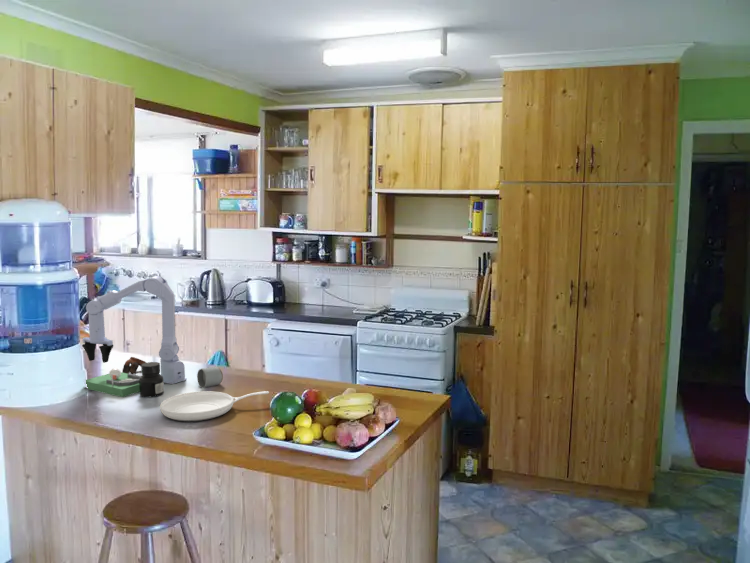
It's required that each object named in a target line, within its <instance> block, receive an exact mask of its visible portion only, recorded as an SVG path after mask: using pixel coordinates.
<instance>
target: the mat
mask: <svg viewBox="0 0 750 563" xmlns="http://www.w3.org/2000/svg"><path fill="white" fill-rule="evenodd" d="M140 377H142V375H138V374H131V373H129V374H127V373H122V372H121V376H120V377H119V378H118V379H117V380H115V379H113V382H114V387H112V378H110V376H109V373H105V374H103V375H99V376H95V377H91V378H88V379H85V380H86V384H87V387H88V389H87V390H90V391H95V392H99V393H102V394H103V393H104V394H108V395H112V396H117V397H119V398H120V397H121V398H124V397H127V396H131V395H134V394H136V393H140V390H139V379H140ZM133 393H134V394H133ZM130 394H131V395H130Z"/></svg>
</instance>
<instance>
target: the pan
mask: <svg viewBox="0 0 750 563" xmlns="http://www.w3.org/2000/svg"><path fill="white" fill-rule="evenodd" d="M269 393H270V391H268V390H266V391H265V390H263V391H258V392H257V391H256V392H251V393H248V394H244V395H242V396H237V397H236V396H235V397H234V396H232V395H230V394H228V393H226V392H220V391H210V390H209V391H207V390H204V391H203V390H202V391H192V392H184V393H180V394H176V395H173V396H170V397H167V398H166V399H164V400H162V402H161V403H160V405H159V409H160V411H161V414H163V415H164V416H165V417H166V418H169V419H170V420H172V421H173V420H174V421H179V422H199V421H207V420H212V419H214V418H218V417H221V416H222V415H225V414H227V412H229V411H230V410H231V409H232V408H233V405H234V403H237V402H238V401H240V400H243V399H245V398H248V397H251V396H258V395H269Z"/></svg>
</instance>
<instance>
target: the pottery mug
mask: <svg viewBox="0 0 750 563" xmlns="http://www.w3.org/2000/svg"><path fill="white" fill-rule="evenodd" d="M144 363H147V362H146V361H145V360H143V359H140V358H137V357H134V356H131V357H129V359H127V360H126V361H125V362H124V364H123V368H122V373H127V374H133V375H137V371H138V368H139V366H140V367H141V365H142V364H144Z"/></svg>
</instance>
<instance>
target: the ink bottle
mask: <svg viewBox="0 0 750 563" xmlns="http://www.w3.org/2000/svg"><path fill="white" fill-rule="evenodd" d="M140 367H141V370H140V371H141V376H142V377H140V379H139V390H140V392H139V396H141V397H142V398H155V397H159V396H162V395H163V394H164V393H165V386H164V385H165V384H164V382H163V376H162V375H161V362H157V361H149V362H146V363H144V364H142V365H141V366H140Z"/></svg>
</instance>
